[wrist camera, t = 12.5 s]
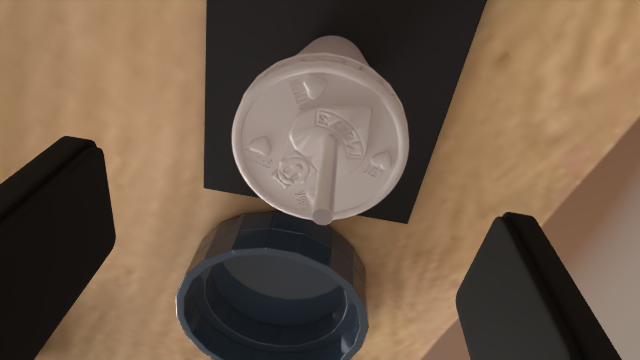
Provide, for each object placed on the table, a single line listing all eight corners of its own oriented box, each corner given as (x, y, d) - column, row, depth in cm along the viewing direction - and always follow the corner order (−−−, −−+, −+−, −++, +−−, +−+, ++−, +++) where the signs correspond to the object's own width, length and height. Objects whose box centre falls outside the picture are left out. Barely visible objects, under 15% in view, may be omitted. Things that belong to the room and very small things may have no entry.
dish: (195, 194, 29) (173, 231, 25) (385, 227, 29) (389, 269, 25) (195, 320, 36) (177, 363, 32) (347, 345, 36) (346, 391, 33)
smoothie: (413, 75, 22) (481, 241, 11) (327, 143, 25) (303, 338, 13) (336, -21, 20) (312, 52, 8) (250, 64, 23) (137, 214, 11)
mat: (214, -175, 18) (209, -179, 17) (521, -114, 18) (528, -115, 18) (207, 181, 28) (203, 188, 27) (406, 217, 28) (407, 224, 28)
